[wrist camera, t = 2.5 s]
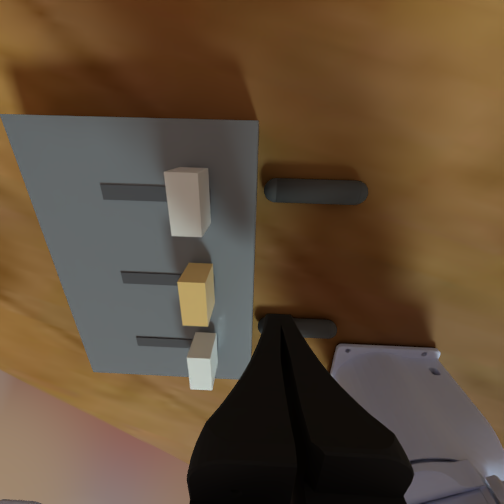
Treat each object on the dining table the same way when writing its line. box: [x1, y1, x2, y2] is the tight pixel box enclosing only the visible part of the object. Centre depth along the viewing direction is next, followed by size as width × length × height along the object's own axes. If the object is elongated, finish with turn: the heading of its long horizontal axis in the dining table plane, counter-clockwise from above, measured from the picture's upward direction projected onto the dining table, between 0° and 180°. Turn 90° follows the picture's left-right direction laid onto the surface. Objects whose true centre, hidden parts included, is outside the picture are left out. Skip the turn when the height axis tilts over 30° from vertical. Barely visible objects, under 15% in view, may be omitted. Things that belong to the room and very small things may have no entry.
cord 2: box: [258, 317, 337, 339], centre depth 21 cm, size 7×2×2 cm, turn 89°
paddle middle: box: [177, 263, 215, 327], centre depth 15 cm, size 2×3×2 cm, turn 179°
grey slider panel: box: [0, 114, 259, 379], centre depth 18 cm, size 14×20×3 cm
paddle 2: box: [187, 332, 218, 390], centre depth 18 cm, size 2×3×2 cm, turn 179°
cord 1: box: [264, 178, 368, 205], centre depth 16 cm, size 7×2×2 cm, turn 89°
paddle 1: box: [164, 167, 211, 237], centre depth 13 cm, size 2×3×2 cm, turn 179°
